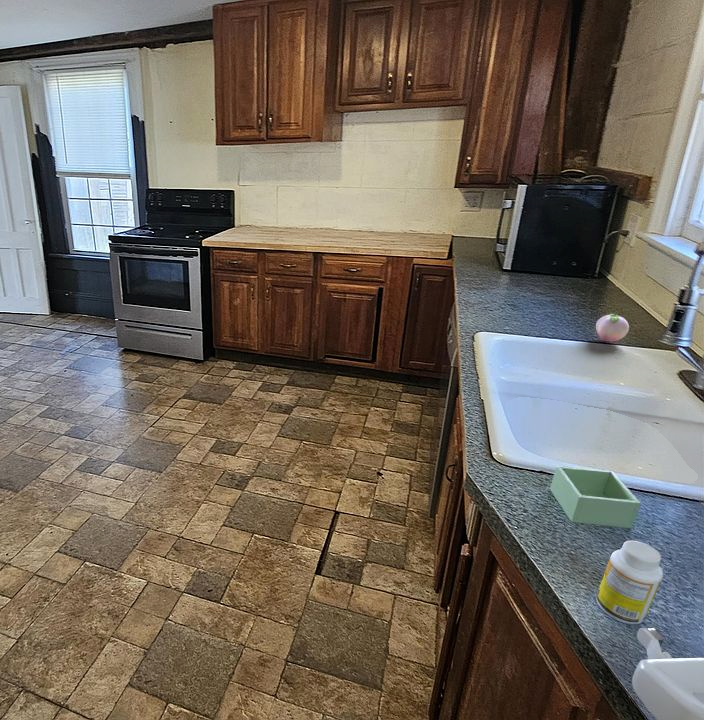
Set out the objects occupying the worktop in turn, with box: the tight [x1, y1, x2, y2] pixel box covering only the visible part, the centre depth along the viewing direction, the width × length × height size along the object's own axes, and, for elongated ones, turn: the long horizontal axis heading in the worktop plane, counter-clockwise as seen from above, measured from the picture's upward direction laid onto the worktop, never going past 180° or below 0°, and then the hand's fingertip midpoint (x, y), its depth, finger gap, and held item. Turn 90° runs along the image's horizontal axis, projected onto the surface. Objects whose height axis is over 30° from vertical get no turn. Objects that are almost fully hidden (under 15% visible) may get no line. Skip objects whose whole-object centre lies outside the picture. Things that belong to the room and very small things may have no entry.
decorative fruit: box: [595, 312, 630, 343], centre depth 167 cm, size 9×8×10 cm
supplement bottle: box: [596, 540, 664, 625], centre depth 70 cm, size 6×6×10 cm
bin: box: [549, 465, 642, 529], centre depth 91 cm, size 9×9×5 cm
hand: (682, 630), depth 62 cm, fingers open, 8 cm apart
